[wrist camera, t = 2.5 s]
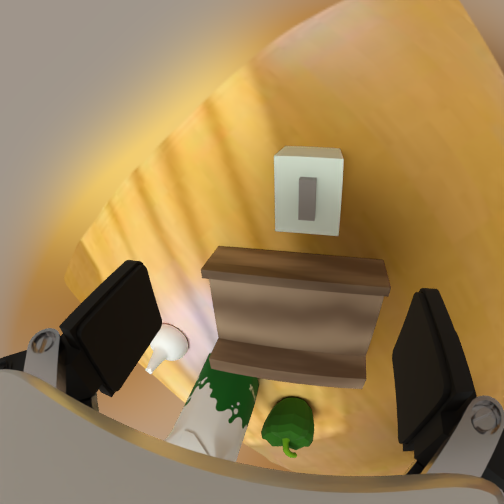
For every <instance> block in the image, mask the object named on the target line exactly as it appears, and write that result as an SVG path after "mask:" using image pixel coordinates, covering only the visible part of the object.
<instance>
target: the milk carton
mask: <svg viewBox="0 0 504 504" xmlns="http://www.w3.org/2000/svg"><path fill="white" fill-rule="evenodd" d="M210 355H211V354H210V353H209V356H208V358H207V360H206V362H205V364H204V366H203V369H202V371H201V373H200V375H199V377H198V379H197V381H196V383H195V385H194V387H193V389H192V391H191V393H190V396H189V398H188V400H187V402H186V404H185V406H184V408H183V410H182V412H181V414H180V415H179V418H178V420H177V421H176V423H175V426H174V428H173V429H172V431H171V432H170V434H169V435H168V436H167V438H166V439H165V440H164V441H166V442H169V443H171V444H174V445H177V446H180V447H183V448H186V449H189V450H193V451H196V452H199V453H202V454H206V455H210V456H213V457H217V458H221V459H225V460H229V461H233V462H236V460H237V457H238V453H239V450H240V447H241V444H242V441H243V438H244V435H245V432H246V429H247V426H248V423H249V420H250V417H251V414H252V411H253V408H254V404H255V401H256V396H257V392H258V387H259V383H258V378H257V377H251V376H245V375H240V374H235V373H230V372H225V371H220V370H215V369H211V366H210V361H209V357H210Z"/></svg>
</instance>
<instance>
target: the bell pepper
mask: <svg viewBox="0 0 504 504" xmlns="http://www.w3.org/2000/svg"><path fill="white" fill-rule="evenodd" d="M261 434H262V438H263V439H266V440H267V441H268V442H269V443H270V444H271V445H272V446H283V451H284V453H285V454H286V455H287V456H289V457H290V458H295V457H297V454H296V453H295V452H294V453H292V452H291V451H290V450H289V448H291V449H294V450H297V449H299V448H302V447H304V446H307V447H309V446H310V444H311V443H312V441H313V435H314V420H313V414H312V410H311V408H310V407H309V406H308V404H307V403H306V402H305V401H304V400H302V399H299V398H291V397H288V398H285V399H283V400H282V401H280V402H279V403H277V404H276V405H275V406H274V407H273V409H272V410H271V412H270V413H269V415H268V417H267V419H266V421H265V422H264V425H263V428H262V431H261Z"/></svg>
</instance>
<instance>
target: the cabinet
mask: <svg viewBox="0 0 504 504" xmlns="http://www.w3.org/2000/svg"><path fill="white" fill-rule="evenodd" d="M343 162H344V159H343V156H342V153H341V150H340V149H339V148H324V147H304V146H285V147H284V148H282V149H281V150H280V151H279V152H278V153H277V154H275V155H274V180H275V231H280V232H293V233H306V234H319V235H331V236H338V235H339V224H340V212H341V199H342V183H343Z"/></svg>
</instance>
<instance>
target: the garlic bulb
mask: <svg viewBox="0 0 504 504" xmlns="http://www.w3.org/2000/svg"><path fill="white" fill-rule="evenodd" d="M150 345H151V348H152V349H153V354H152V357H151V359H150V361H149V364H148V366H147V368H146V369H145V370H146V371H148V373H149V372H150V373H149V374H152V372H153V371H154V370H155V369H156V368H157V367H158V366H159V365H160V363H161V362H162V361H164V360H165V359H166V360H171V361H173V360H178V359H180V358H182V357H183V356H184V355H185V353H186V352H187V349H188V343H187V340H186V338H185V336H184V335H183V334H182V332H181V331H179V330H178V329H177V328H175V327H173V326H171V325H167V324H162V326H161V329H160V330H159V332H158V333H157V335H156V336H155V338H154V339H153V340H152V342H151V343H150Z"/></svg>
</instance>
